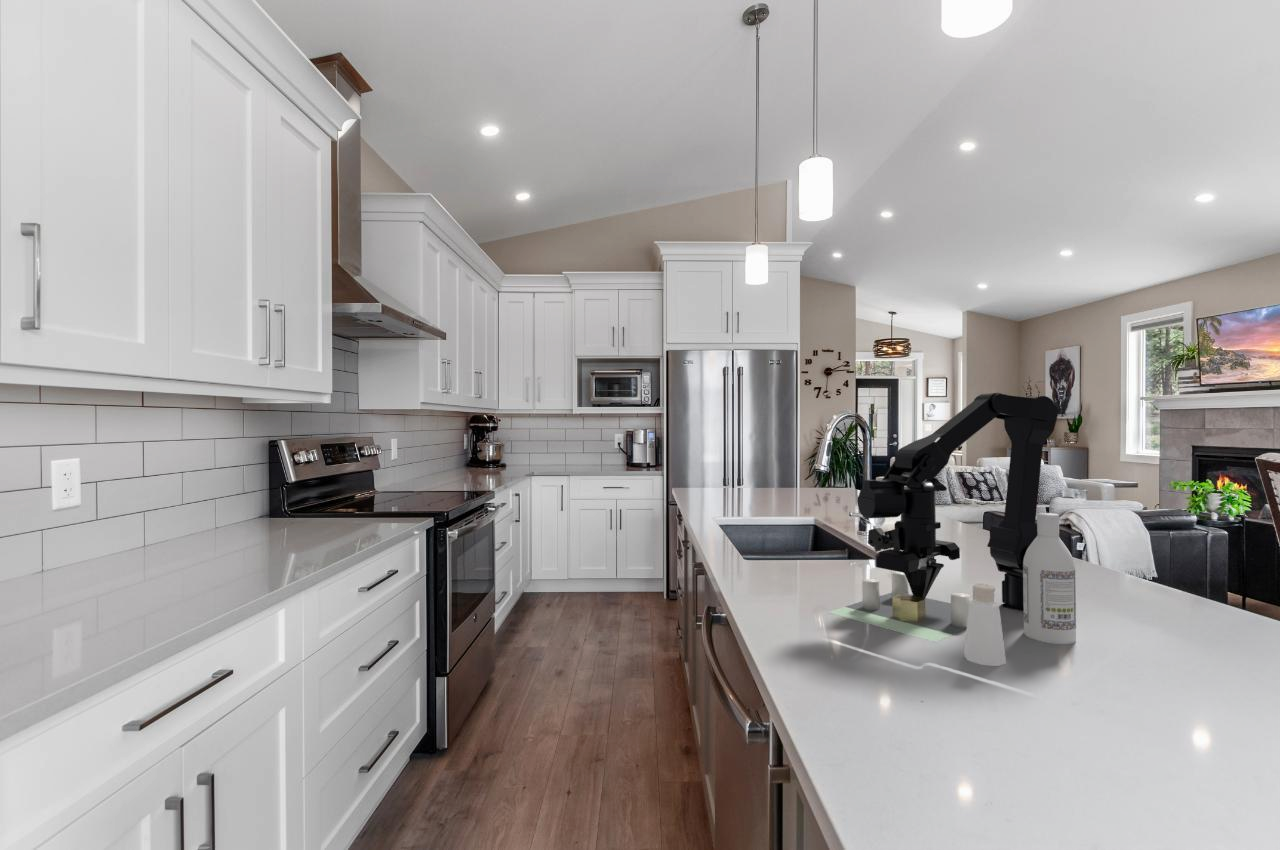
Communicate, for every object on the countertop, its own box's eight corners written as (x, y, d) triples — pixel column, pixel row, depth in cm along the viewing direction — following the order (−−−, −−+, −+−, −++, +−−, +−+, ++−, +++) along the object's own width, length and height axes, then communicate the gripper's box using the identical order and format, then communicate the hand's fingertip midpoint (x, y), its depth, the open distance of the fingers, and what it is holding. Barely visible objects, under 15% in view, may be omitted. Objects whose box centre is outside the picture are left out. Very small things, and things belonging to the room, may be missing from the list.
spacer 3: (974, 625, 104) (973, 595, 104) (965, 628, 102) (965, 598, 102) (956, 620, 106) (955, 592, 106) (947, 624, 104) (947, 594, 104)
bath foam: (1086, 643, 96) (1085, 515, 96) (1055, 649, 94) (1053, 517, 94) (1044, 630, 102) (1042, 510, 103) (1013, 635, 100) (1012, 512, 100)
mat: (1000, 616, 110) (1000, 614, 110) (935, 644, 96) (935, 641, 96) (895, 593, 126) (895, 591, 126) (827, 614, 112) (827, 611, 112)
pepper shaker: (1015, 667, 86) (1014, 589, 87) (981, 670, 86) (980, 591, 86) (987, 653, 92) (987, 580, 92) (955, 656, 91) (954, 581, 91)
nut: (929, 618, 108) (929, 598, 108) (913, 624, 105) (913, 603, 105) (904, 612, 112) (904, 592, 112) (888, 617, 108) (888, 597, 108)
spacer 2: (911, 599, 120) (911, 573, 120) (903, 601, 118) (902, 575, 118) (897, 595, 122) (896, 570, 122) (888, 598, 121) (888, 572, 121)
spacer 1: (882, 608, 114) (882, 581, 114) (873, 611, 112) (873, 583, 112) (868, 604, 116) (868, 578, 116) (859, 607, 115) (858, 580, 115)
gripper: (903, 507, 122) (904, 585, 122) (848, 516, 111) (849, 602, 111) (960, 513, 114) (961, 597, 114) (906, 523, 102) (907, 617, 102)
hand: (919, 602), depth 110 cm, fingers closed
